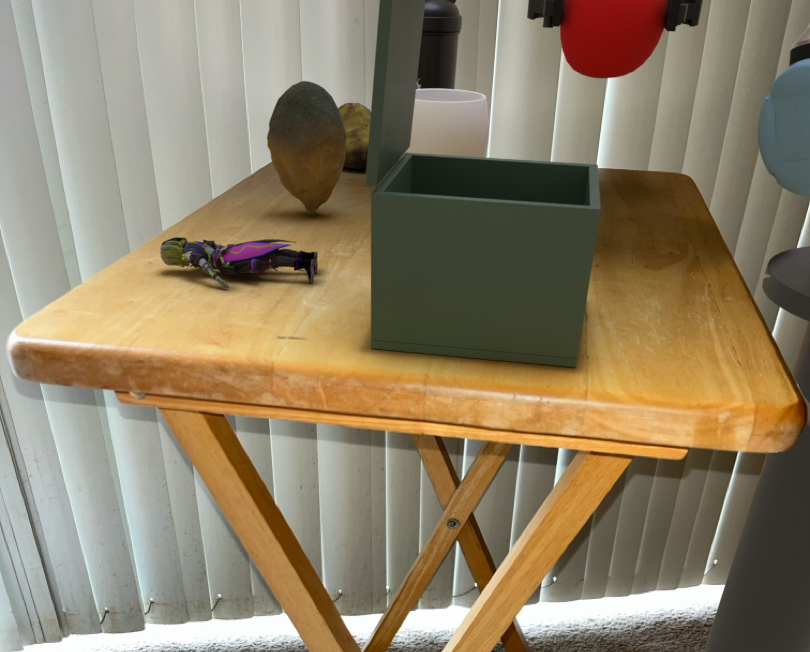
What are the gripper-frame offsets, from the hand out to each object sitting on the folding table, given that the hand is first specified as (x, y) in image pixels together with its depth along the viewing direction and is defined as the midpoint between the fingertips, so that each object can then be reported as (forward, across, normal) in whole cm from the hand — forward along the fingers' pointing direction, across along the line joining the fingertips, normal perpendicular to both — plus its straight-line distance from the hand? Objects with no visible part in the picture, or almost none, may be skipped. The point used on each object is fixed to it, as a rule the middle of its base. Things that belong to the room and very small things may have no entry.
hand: (615, 12), depth 82 cm
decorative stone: (-8, +34, -24) cm, 42 cm away
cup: (-3, +17, -24) cm, 29 cm away
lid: (+24, +16, -1) cm, 30 cm away
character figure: (+17, +35, -24) cm, 45 cm away
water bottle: (-43, +25, -23) cm, 55 cm away
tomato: (-4, 0, -6) cm, 7 cm away
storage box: (+24, +9, -23) cm, 35 cm away
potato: (-38, +35, -23) cm, 57 cm away
